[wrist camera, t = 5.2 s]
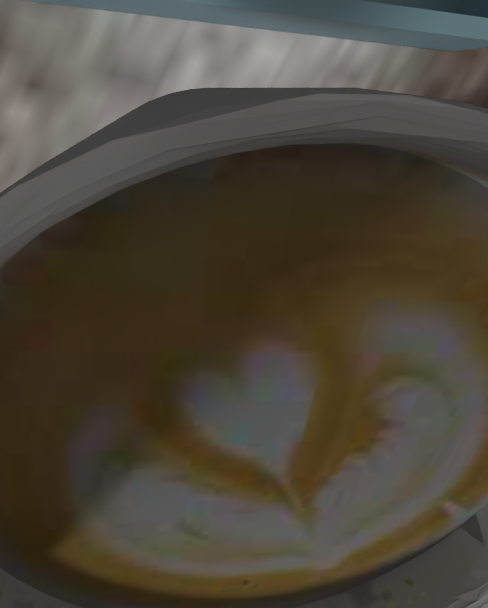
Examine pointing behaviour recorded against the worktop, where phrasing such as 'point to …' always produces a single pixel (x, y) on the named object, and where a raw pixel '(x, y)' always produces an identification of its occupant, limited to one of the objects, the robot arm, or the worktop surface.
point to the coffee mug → (249, 357)
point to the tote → (330, 18)
